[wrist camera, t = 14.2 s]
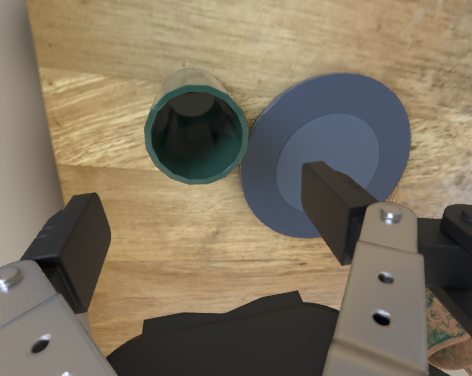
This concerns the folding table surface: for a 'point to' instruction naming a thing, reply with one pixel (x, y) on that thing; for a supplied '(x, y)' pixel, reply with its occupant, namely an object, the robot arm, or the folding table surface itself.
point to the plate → (323, 145)
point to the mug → (446, 338)
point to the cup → (195, 128)
